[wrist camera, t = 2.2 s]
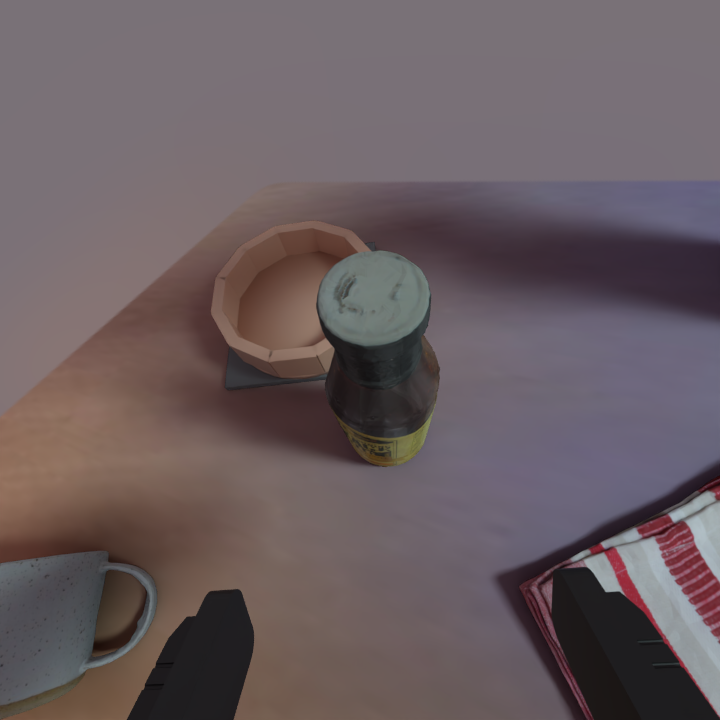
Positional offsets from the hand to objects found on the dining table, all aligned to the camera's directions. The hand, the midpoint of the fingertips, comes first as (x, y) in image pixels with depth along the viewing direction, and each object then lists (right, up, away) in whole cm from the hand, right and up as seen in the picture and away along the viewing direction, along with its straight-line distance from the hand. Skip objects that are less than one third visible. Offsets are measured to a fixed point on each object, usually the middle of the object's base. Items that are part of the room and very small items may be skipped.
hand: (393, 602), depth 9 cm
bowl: (-6, +11, +27) cm, 30 cm away
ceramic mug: (-21, -12, +18) cm, 30 cm away
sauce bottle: (+2, 0, +21) cm, 21 cm away
